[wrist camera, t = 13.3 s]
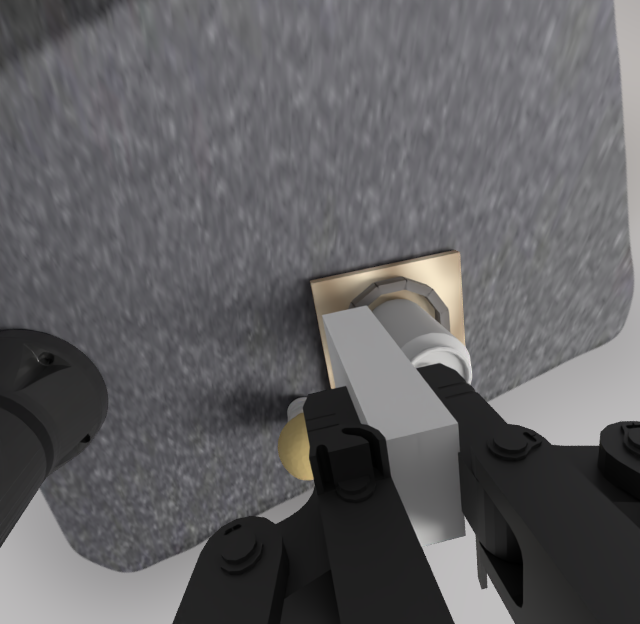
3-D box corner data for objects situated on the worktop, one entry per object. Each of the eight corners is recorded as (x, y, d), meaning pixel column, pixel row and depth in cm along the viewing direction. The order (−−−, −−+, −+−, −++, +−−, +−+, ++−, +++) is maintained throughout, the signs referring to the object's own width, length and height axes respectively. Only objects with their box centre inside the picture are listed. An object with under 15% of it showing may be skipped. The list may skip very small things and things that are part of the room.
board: (331, 393, 48) (335, 406, 46) (309, 280, 43) (313, 287, 41) (461, 363, 49) (472, 374, 47) (454, 250, 44) (466, 255, 42)
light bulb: (286, 439, 49) (293, 502, 40) (266, 396, 47) (269, 453, 38) (336, 419, 50) (354, 478, 40) (319, 376, 47) (334, 428, 38)
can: (385, 372, 47) (425, 436, 36) (346, 326, 44) (376, 380, 33) (438, 331, 46) (496, 384, 35) (401, 282, 43) (451, 322, 32)
